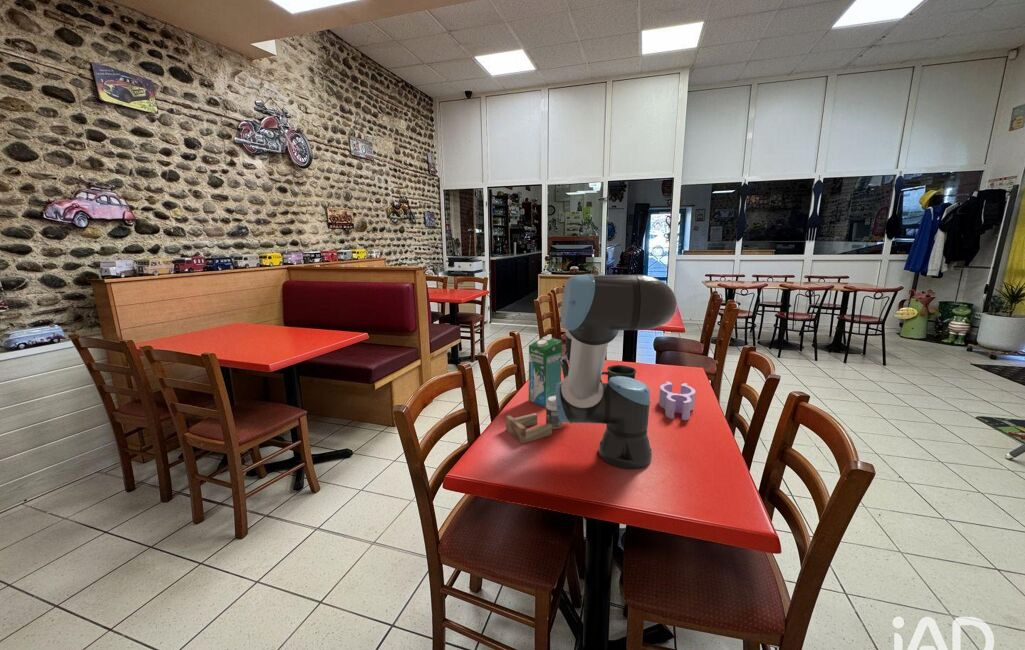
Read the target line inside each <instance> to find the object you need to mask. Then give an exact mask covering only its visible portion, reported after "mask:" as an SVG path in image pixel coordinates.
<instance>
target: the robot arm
mask: <svg viewBox="0 0 1025 650" xmlns="http://www.w3.org/2000/svg"><path fill="white" fill-rule="evenodd" d="M677 305H678V304H677V297H676V295H675V292H674V291H673V290H672V289H671V287H670V286H669V285H668V284H667V283H665V282H664V281H662V280H660V279H658V278H656V277H653V276H650V275H646V274H601V275H600V274H592V273H584V274H576V275H575V274H574V275H572V276H570V277H569V278H568V279H567V280H566V282H565V284H564V289H563V293H562V302H561V305H560V307H561V308H560V323H561V327H562V328H563V329H565V336H566V337H565V352H564V356H562V358H559V361H560V363H561V372H562V375H563V380H561V382H558V383H557V384H556V404H557V414H558V418H559V420H560V421H561V422H563V423H568V424H601V425H606V426H605V431H604V433H603V435H602V438H601V440H600V442H599V445H598V446H599V447H598V455H599V456H600V458H601V459H602V460H603V461H604V462H606V463H607V464H609V465H611V466H614V467H617V468H621V469H626V470H636V469H642V468H645V467H647V466H648V465H650V464H651V462H652V459H653V451H652V450H653V449H652V448H651V445H650V444H651V443H650V439H649V436H648V426H649V415H650V414H649V413H650V405H651V393H650V389H649V387H648V386H647V385H646V383H644V382H643V381H641V380H638V379H636V378H635V379H633V378H629V377H623V376H615V377H611V378H610V379H609V380H608V379H607V382H608V383H607V382H602V383H601V382H600V380H601V381H602V372H603V370H604V369H603V368H604V366H605V362H606V356H607V351H608V347H609V344H610V343H611V342H613V340H614V339H615V338H617V336H618V334H619V331H644V330H651V329H656V328H659V327H661V326H664V325H665V324H667V323H668V322H670V321H671V319H672V318H673V317H674V316H675V313H676V310H677Z"/></svg>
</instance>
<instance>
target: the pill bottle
mask: <svg viewBox="0 0 1025 650" xmlns="http://www.w3.org/2000/svg"><path fill="white" fill-rule="evenodd" d="M545 414H546V415H545V424H549V423H550V424H551V425H552V430H555V429H556V430H557V429H561V428H562V427H563V425H564V424H563V423H564V422H561V421H560V420H559V418H558V414H557V404H556V396H551V397H548V404H547V406H546V407H545Z"/></svg>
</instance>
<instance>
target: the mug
mask: <svg viewBox="0 0 1025 650" xmlns="http://www.w3.org/2000/svg"><path fill="white" fill-rule="evenodd" d="M636 373H637V370H636V368H633V367H631V366H629V365H622V364H621V365H619V364H615V365H610V366H608V367H607V368H606V371H602V375H606V376H607V382H606V383H608V380H609V379H610V378H611V377H615V376H623V377H629V378H633V379H636ZM602 375H601V376H602ZM600 382H601V383H603V381H602V379H601V380H600Z"/></svg>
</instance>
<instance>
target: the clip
mask: <svg viewBox="0 0 1025 650" xmlns="http://www.w3.org/2000/svg"><path fill="white" fill-rule="evenodd" d="M695 398H696V390H695V388H693V387H692V386H690V385H688V383H686V382H683V383H681V384H680V392H679V393H676V392H675V393H674V392H673V383H672V382H670V381H665V383H663V384H661V385H660V386H659V395H658V405H659V406H661V408H662V409H664V410H665V411H664V415H665V416H666V417H667V418H668V419H671V420H674V419H675V413H678V412H679V413H678V414H681V419H682V421H683V420H685V421H688V420H690V418H691V412H692V411H691V410H693V411H694V408H695V400H696V399H695ZM690 411H691V412H690Z"/></svg>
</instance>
